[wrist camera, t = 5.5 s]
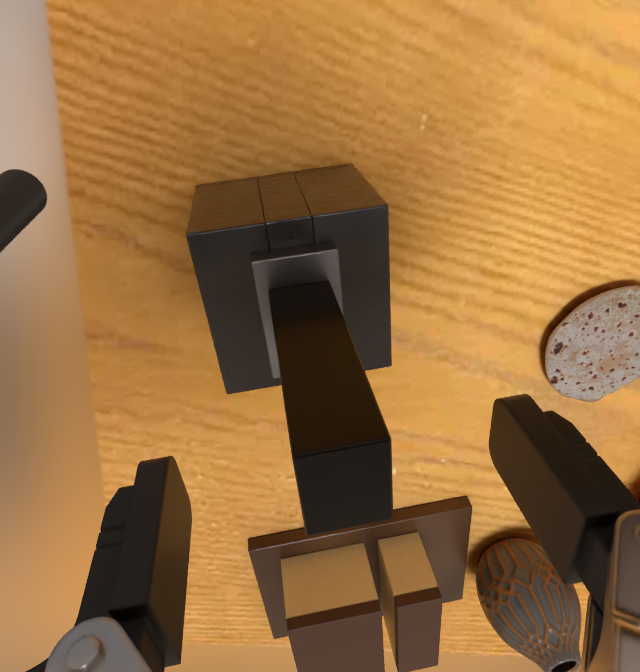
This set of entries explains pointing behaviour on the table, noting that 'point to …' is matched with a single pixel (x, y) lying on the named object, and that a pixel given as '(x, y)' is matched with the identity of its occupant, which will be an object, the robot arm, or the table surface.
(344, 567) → the cake
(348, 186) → the knife block
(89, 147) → the table surface
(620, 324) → the flatbread
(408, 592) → the cake slice
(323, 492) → the knife
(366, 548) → the cake board
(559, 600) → the vase
